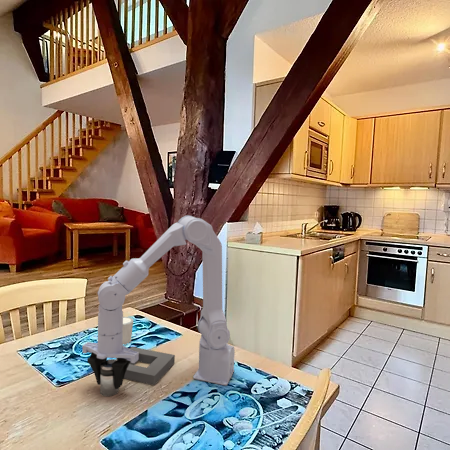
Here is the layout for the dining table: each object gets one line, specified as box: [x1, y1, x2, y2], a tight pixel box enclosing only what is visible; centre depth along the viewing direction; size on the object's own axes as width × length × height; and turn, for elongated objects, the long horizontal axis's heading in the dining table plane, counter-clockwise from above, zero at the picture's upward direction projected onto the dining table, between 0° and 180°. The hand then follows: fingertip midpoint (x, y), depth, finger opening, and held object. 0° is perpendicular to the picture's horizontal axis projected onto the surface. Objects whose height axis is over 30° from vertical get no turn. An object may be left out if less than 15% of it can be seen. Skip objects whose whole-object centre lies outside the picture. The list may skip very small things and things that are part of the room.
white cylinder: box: [123, 316, 134, 345], centre depth 110 cm, size 7×7×7 cm
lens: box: [99, 358, 120, 397], centre depth 82 cm, size 4×4×7 cm
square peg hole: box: [115, 346, 176, 386], centre depth 93 cm, size 14×12×2 cm
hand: (109, 384), depth 82 cm, fingers closed on lens, 4 cm apart
